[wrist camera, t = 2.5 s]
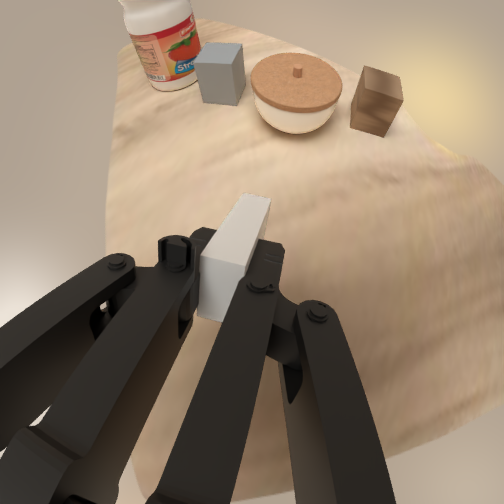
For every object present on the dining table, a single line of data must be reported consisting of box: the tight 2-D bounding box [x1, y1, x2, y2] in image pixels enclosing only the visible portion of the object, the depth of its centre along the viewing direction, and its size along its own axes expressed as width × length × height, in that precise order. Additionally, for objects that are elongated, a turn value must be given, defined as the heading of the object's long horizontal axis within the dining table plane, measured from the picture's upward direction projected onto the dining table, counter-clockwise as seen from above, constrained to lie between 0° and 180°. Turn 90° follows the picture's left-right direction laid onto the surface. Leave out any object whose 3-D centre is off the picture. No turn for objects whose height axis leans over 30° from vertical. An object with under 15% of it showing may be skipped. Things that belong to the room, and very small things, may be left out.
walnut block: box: [350, 66, 403, 138], centre depth 31 cm, size 5×5×8 cm
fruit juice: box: [118, 0, 201, 91], centre depth 25 cm, size 9×9×28 cm
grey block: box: [193, 43, 246, 106], centre depth 33 cm, size 5×5×8 cm
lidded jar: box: [251, 53, 342, 134], centre depth 31 cm, size 11×11×9 cm
